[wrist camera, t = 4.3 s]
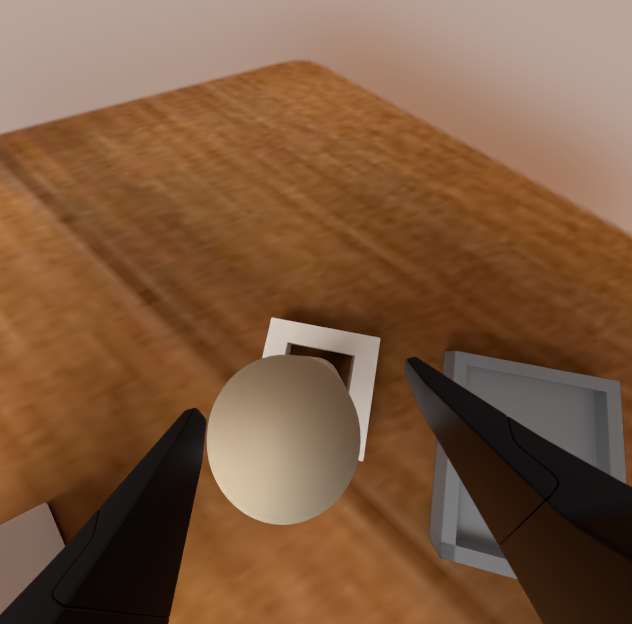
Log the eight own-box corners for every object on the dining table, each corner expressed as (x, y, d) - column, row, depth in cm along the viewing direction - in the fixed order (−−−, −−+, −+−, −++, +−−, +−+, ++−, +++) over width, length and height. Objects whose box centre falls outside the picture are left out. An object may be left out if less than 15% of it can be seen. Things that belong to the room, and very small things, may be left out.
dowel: (334, 410, 16) (346, 546, 5) (288, 400, 17) (187, 500, 5) (342, 362, 17) (371, 370, 5) (298, 353, 17) (229, 342, 6)
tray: (601, 583, 13) (634, 611, 12) (428, 537, 14) (440, 557, 13) (592, 379, 16) (619, 381, 14) (444, 351, 17) (455, 350, 15)
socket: (358, 448, 16) (362, 461, 14) (254, 423, 16) (244, 432, 14) (374, 340, 17) (380, 337, 15) (278, 321, 18) (271, 317, 16)
